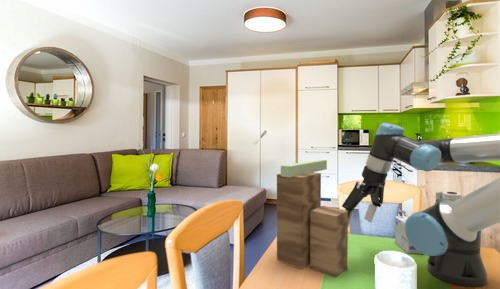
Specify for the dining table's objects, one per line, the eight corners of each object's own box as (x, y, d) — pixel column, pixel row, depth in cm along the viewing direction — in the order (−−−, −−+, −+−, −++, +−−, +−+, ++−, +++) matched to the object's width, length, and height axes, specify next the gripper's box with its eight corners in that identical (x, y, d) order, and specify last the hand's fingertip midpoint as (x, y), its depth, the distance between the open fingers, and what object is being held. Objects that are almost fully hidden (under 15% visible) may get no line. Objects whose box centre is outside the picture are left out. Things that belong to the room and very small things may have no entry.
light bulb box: (426, 254, 105) (427, 224, 104) (408, 254, 105) (408, 224, 104) (411, 242, 115) (411, 215, 115) (393, 242, 116) (394, 215, 115)
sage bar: (289, 177, 93) (289, 166, 93) (280, 176, 96) (280, 165, 95) (326, 169, 110) (326, 160, 110) (318, 168, 113) (318, 159, 113)
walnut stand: (330, 280, 87) (331, 181, 85) (277, 259, 101) (276, 174, 99) (348, 266, 95) (349, 176, 94) (296, 249, 110) (296, 170, 108)
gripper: (387, 163, 107) (368, 212, 113) (343, 165, 93) (325, 222, 99) (406, 171, 101) (385, 223, 107) (363, 175, 87) (342, 235, 93)
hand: (356, 223), depth 103 cm, fingers open, 13 cm apart
